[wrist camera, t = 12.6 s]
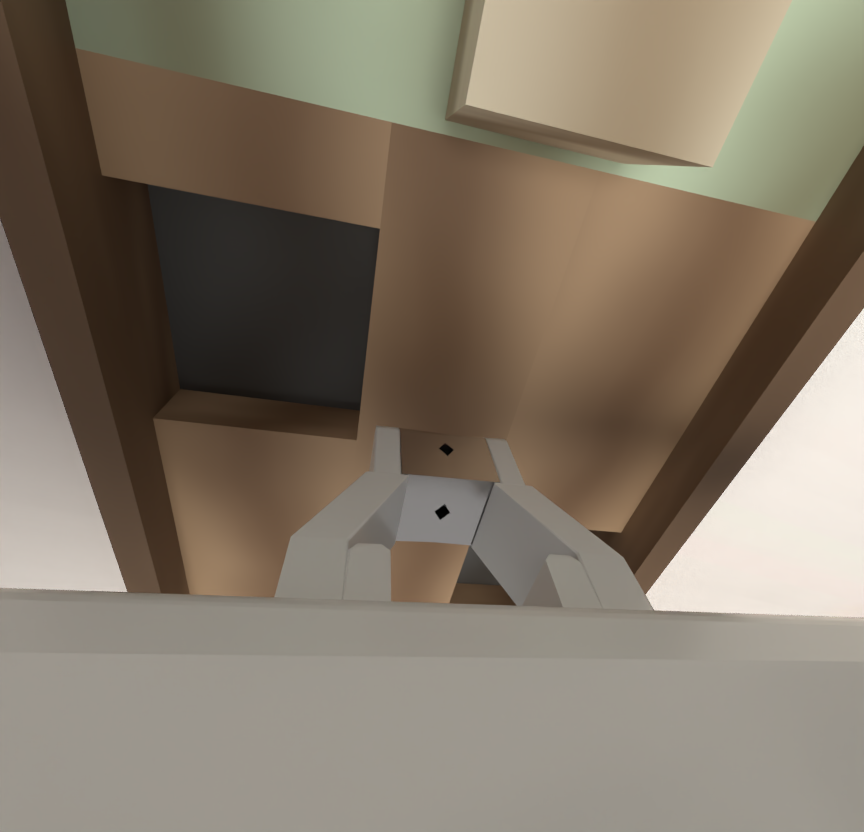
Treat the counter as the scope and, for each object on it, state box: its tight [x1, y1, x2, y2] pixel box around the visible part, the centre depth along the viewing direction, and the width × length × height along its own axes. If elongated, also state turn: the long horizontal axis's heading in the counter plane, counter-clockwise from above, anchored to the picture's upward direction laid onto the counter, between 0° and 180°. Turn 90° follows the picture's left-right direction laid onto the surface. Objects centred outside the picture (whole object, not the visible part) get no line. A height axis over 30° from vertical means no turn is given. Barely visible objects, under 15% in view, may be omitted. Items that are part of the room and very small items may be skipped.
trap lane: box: [0, 0, 864, 606], centre depth 15 cm, size 18×37×4 cm, turn 169°
